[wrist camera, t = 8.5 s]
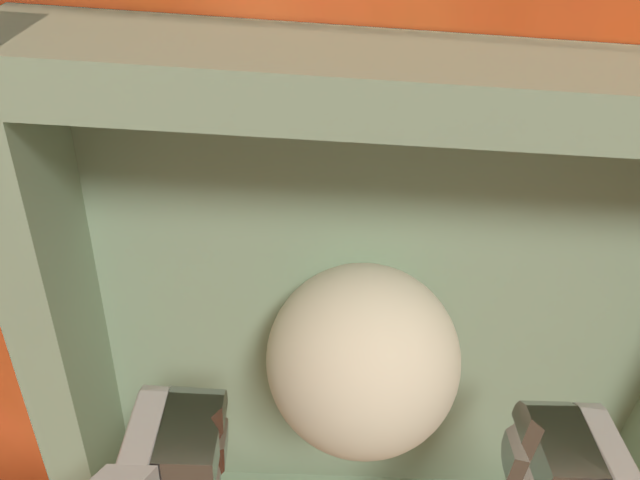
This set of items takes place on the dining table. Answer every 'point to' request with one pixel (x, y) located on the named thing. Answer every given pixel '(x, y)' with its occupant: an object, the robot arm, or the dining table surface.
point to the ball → (363, 362)
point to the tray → (309, 219)
